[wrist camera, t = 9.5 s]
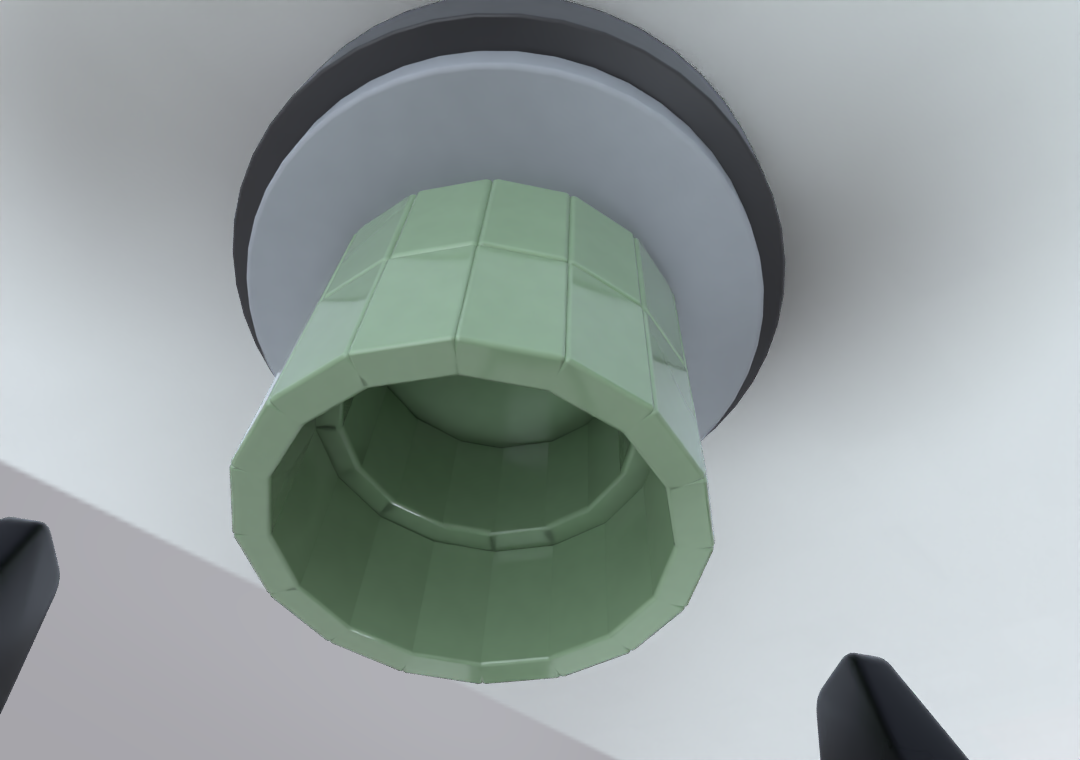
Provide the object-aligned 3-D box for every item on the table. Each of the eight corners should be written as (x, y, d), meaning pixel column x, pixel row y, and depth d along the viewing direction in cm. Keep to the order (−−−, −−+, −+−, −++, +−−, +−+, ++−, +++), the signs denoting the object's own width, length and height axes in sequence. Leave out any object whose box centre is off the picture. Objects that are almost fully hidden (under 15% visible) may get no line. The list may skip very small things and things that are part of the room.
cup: (626, 481, 16) (640, 710, 12) (325, 429, 16) (235, 648, 12) (722, 206, 13) (785, 398, 9) (339, 129, 12) (219, 293, 8)
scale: (682, 489, 19) (693, 563, 18) (261, 415, 19) (225, 484, 17) (857, 64, 14) (900, 107, 12) (255, -69, 13) (199, -46, 11)
